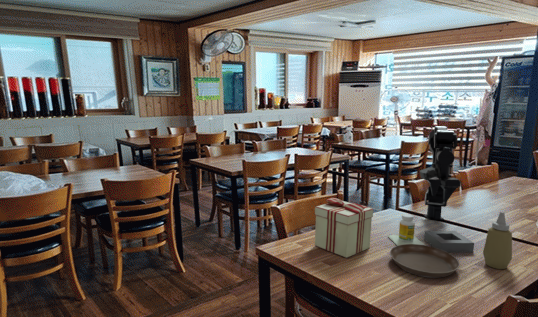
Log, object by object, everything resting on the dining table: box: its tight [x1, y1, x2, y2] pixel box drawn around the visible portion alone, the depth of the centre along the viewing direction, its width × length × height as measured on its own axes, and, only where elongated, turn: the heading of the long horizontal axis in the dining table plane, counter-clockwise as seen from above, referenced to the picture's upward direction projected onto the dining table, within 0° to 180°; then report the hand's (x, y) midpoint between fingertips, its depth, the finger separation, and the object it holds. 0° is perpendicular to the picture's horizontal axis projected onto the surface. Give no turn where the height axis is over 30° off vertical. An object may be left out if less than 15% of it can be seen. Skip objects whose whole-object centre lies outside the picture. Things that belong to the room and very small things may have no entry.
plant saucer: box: [389, 244, 460, 279], centre depth 118 cm, size 21×21×3 cm
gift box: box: [314, 197, 374, 259], centre depth 132 cm, size 17×18×17 cm
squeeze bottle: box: [482, 211, 513, 270], centre depth 117 cm, size 8×8×18 cm
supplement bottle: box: [398, 213, 416, 242], centre depth 137 cm, size 5×5×10 cm
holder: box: [423, 230, 475, 254], centre depth 134 cm, size 12×12×4 cm
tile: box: [387, 234, 425, 246], centre depth 138 cm, size 10×10×1 cm
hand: (439, 198), depth 150 cm, fingers open, 9 cm apart
